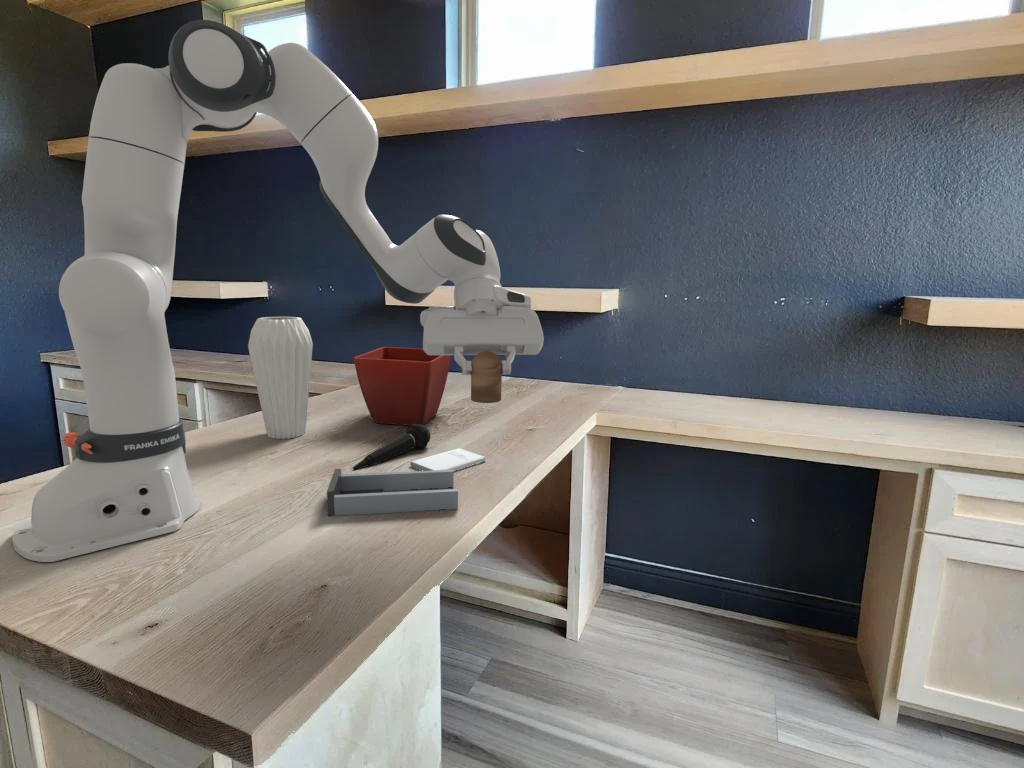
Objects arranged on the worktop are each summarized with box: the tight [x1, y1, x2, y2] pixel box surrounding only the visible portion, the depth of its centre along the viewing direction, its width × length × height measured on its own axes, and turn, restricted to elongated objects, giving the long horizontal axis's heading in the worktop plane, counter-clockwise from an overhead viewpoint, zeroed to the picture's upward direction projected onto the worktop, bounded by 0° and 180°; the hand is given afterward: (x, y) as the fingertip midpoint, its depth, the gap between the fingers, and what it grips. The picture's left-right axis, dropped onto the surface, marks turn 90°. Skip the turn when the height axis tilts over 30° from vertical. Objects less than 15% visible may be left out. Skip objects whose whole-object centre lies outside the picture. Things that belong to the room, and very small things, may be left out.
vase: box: [247, 316, 314, 440], centre depth 126 cm, size 13×13×26 cm
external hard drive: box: [409, 447, 486, 472], centre depth 111 cm, size 2×8×12 cm
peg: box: [470, 351, 503, 404], centre depth 92 cm, size 5×5×8 cm
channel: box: [326, 468, 459, 517], centre depth 93 cm, size 20×10×4 cm, turn 100°
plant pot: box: [353, 346, 452, 426], centre depth 142 cm, size 19×19×17 cm
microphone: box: [352, 424, 431, 471], centre depth 115 cm, size 6×6×20 cm
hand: (487, 372), depth 92 cm, fingers closed on peg, 5 cm apart
